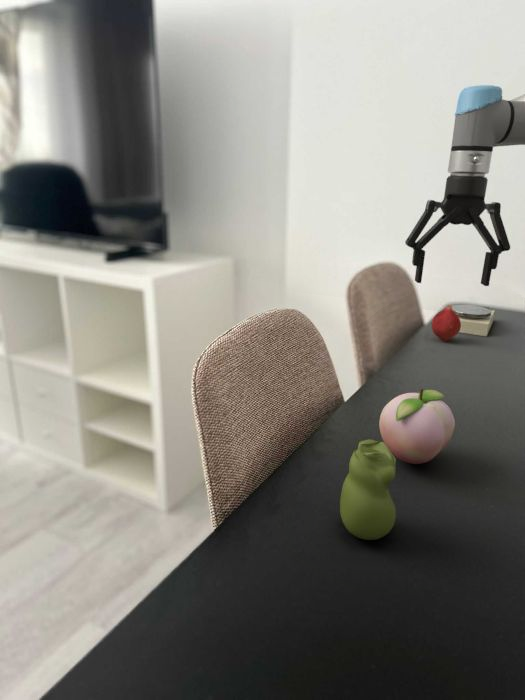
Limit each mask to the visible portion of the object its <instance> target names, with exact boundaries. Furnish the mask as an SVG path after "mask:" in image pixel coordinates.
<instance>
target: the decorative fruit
mask: <svg viewBox="0 0 525 700" xmlns="http://www.w3.org/2000/svg"><path fill="white" fill-rule="evenodd" d="M443 399H446V397H445V395H444V394H443V393H441V392H439V391H438V390H434V389H425V390H424V388H420V389H419V392H406V393H403V394H400V395H397V396H395V397H394V398H393V399H391V400H390V401H388V403H387V404H386V405H385V406H384V407H383V408H382V410H381V413H380V416H379V422H378V423H379V424H378V427H379V432H380V436H381V439H382V442H384V443H385V445H386V446H387V448H388V449H389V450H390V452H391V453H392V455H393V456H394V457H395V458H397V459H398V460H400V461H402V462H404V463H408V464H411V465H421V464H424V463H428V462H429V461H432V460H433V459H434V458H435V457H436V456H437V455H438V454H439V453H440V452H441V451H443V450H444V449H445V448H446V446H447V445H448V444H449V442H450V440H451V438H452V436H453V434H454V431H455V428H456V421H455V417H454V414H453V412H452V410H451V408H450V407H449V406H448V405H447V403H445V402H444V401H443Z"/></svg>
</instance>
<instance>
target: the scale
mask: <svg viewBox="0 0 525 700" xmlns="http://www.w3.org/2000/svg"><path fill="white" fill-rule="evenodd" d="M460 304H461V303H459V304H458V305H460ZM462 304H463V303H462ZM463 305H465V304H463ZM483 307H484V308H487V309H489V310H491V315H490V316H489V317H483V318H474V317H465V316H460V315H458V317H459V319H460V322H461V327H460V331H459V332H458V333H463V334H469V335H475V336H481V337H488V334H489V332H490V329H491V327H492V325H493V323H494V317H495V313H496V311H495V310H494V309H490V307H489V306H488V307H487V306H483Z"/></svg>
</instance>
